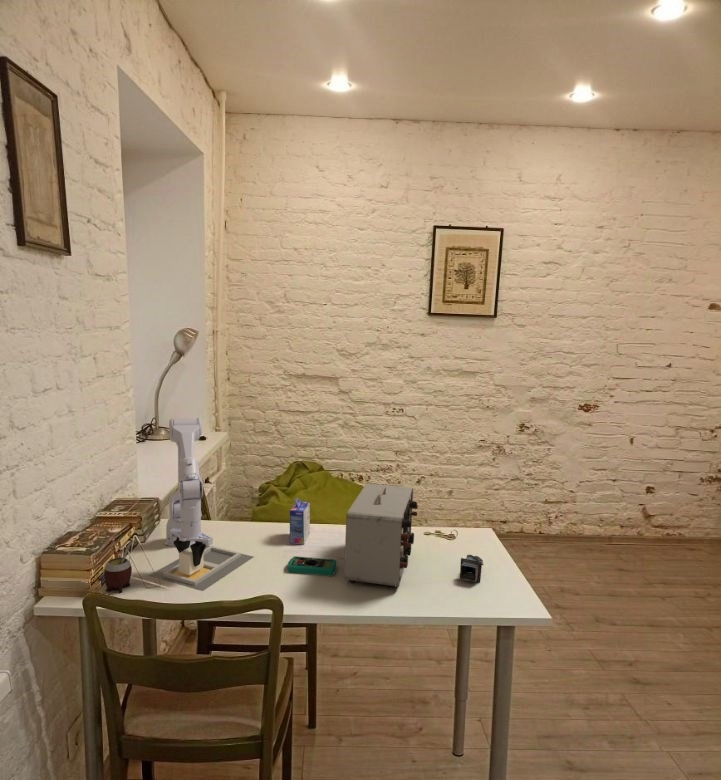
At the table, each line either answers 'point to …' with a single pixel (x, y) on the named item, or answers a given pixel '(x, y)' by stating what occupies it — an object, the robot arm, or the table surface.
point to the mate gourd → (118, 572)
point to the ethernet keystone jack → (471, 568)
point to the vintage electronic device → (379, 534)
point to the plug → (188, 562)
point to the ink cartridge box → (299, 522)
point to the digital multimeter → (312, 566)
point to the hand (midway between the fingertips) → (190, 563)
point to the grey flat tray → (204, 568)
